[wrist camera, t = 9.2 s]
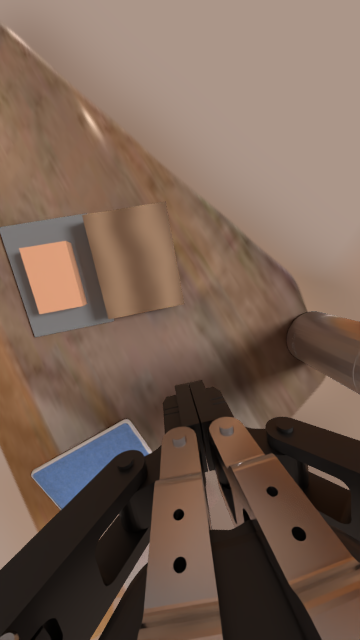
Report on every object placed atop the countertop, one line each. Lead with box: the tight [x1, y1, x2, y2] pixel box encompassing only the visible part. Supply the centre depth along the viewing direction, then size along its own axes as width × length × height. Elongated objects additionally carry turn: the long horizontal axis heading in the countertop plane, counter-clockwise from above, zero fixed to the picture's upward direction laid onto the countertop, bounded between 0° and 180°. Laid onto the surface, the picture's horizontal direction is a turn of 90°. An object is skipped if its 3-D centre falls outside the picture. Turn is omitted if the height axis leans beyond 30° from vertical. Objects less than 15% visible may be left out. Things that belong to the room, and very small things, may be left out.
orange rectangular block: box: [19, 241, 87, 314], centre depth 34 cm, size 6×9×2 cm, turn 10°
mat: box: [0, 213, 114, 337], centre depth 35 cm, size 12×16×1 cm
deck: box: [82, 202, 184, 319], centre depth 35 cm, size 11×14×4 cm
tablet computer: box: [31, 419, 152, 510], centre depth 43 cm, size 19×13×1 cm, turn 118°
